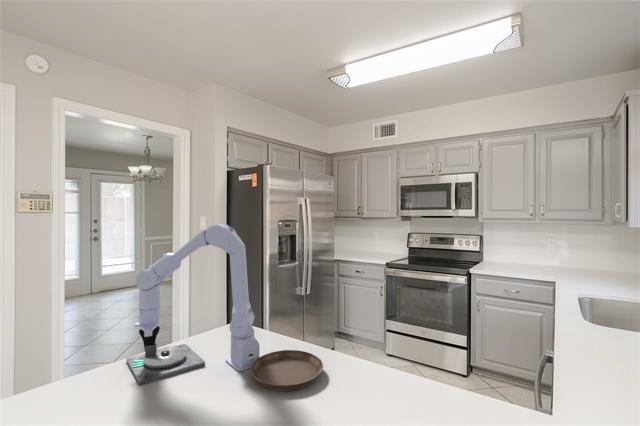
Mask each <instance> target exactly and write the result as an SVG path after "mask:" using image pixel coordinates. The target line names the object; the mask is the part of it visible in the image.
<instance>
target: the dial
mask: <svg viewBox="0 0 640 426" xmlns="http://www.w3.org/2000/svg"><path fill="white" fill-rule="evenodd" d="M144 354H145V356H144V358H143V364H144V366H146V367H148V368H166V367H170V366H174V365H176V364H179V363H181V362H182V361H184V360H185V358H186V350H185V349H184V348H181V347H174V346H165V347H160V348H158V343H157V342H155V344H146V345H145V349H144Z"/></svg>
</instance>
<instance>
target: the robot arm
mask: <svg viewBox="0 0 640 426" xmlns="http://www.w3.org/2000/svg"><path fill="white" fill-rule="evenodd" d="M209 245H210V246H213V247H216V248H220V249H221V250H223V251H224V252H226V253H227V254H229V264H230V279H231V294H232V311H231V321H230V323H229V331H230V357H229V358H226V359H225V362H226V363H227V364H229V365H230V366H231V367H232V368H234V370H235V371H237V372H242V371H246V370H248V369H251V366H252V364H253V363H254V361H255V360H257V359H258V358H259V357H260V342H259V341H258V340H257V338H256V336H255V329H254V327H253V326H252V325H253V324H254V322H255V314H254V312H253V310H252V307H251V306H252V305H251V303H250V298H249V297H250V294H249V282H248V281H249V280H248V267H247V254H246V253H247V251H246V244H245V243H244V242H243V241H242V238H241V237H240V236H239V235H238V234H237V231H236V230H235V229H234V228H233V227H231V226H229V225H228V224H227V223H219V224H213V225H210V226H209V227H208V228H207V229H204V230H202V231H200V232H199V233H197V234H196V235H194V236H193V237H192V238H191V239H190V240H189V241H187V242H186V243H185V244H184V245H182V246H181V247H180V248H179V249H178V250H176V252H167V253H163V254H161V255H160V256H159V257H160V258H159V259H158V260H157V261H156V262H154V263H151V264H149V265H147V267H148V268H147V269H143V270H141V271H139V273H138V274H137V275H136V277H135V285H136V286H137V288H138V289H139V290H138V293H139V294H138V322H135V323H134V327H135V328H139V329H138V333H139V336H140V337H141V338H142V341H143V349H144V350H145V345H146V344H155V343H156V339H157V336H158V334H159V333H160V328H161V327H160V325H161V322H162V321H161V306H160V305H161V292H160V291H161V287H160V285H161V283H162V282H163V281H164V280H165V279H166V278H167V277H169V276H170V275H171V274H173V273H174V272H176V271H177V270H178V269H179V268H181V265H182V261H183V260H185V259H186V258H187V257H189V256H190V255H191V254H193V253H195V252H196V251H197V250H198V249H200V248H201V247H205V246H206V247H207V246H209Z"/></svg>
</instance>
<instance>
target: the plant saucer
mask: <svg viewBox="0 0 640 426" xmlns="http://www.w3.org/2000/svg"><path fill="white" fill-rule="evenodd" d="M323 368H324V364H323V362H322V360H321V358H319V357H318V356H316V355H315V354H313V353H310V352H307V351H304V350H297V349H296V350H295V349H290V350H289V349H283V350H278V351H277V350H276V351H271V352H269V353H265V354H263V355H261V356H259V358H258V359H257V360H255V361H254V363H253V364H252V366H251V368H250V373H251V375H252V377H253V378H254V379H255V380H256V382H258V384H259V385H260V386H261V385H262V386H263V387H265V388H267V389H269V390H272V391H278V392H289V391H297V390H300V389H304V388H306V387H308V386H310V385H311V384H312V383H314V382H315V380H317V379H318V378H319V376H320V375H321V373H322V372H323Z"/></svg>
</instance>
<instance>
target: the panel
mask: <svg viewBox="0 0 640 426" xmlns="http://www.w3.org/2000/svg"><path fill="white" fill-rule="evenodd" d="M173 347H181V348H184V349H185V350H186V358H185V360H184V361H182V362H181V363H179V364H176V365H174V366H170V367H166V368H148V367H146V366H144V364H143V358H144V356H145V353H142V354H138V355H134V356H131V357H126V359H125V360H126V364H127V366H128V367H129V369H130V371H131V373H132V374H133V376H134V379H135V380H136V382H137V383H138V385H139V386H141V385H145V384H147V383H148V384H149V383H152V382H156V381H159V380H161V379H165V378H168V377H172V376H176V375H179V374H181V373H182V374H183V373H185V372H187V371H189V372H190V371H191V370H197V369H199V368H202V367H205V366H206V361H205V360H204V359H203V358H202V357H200V355H198V353H196V352H195V351H194V350H193V349H192V348H191V347H190V346H189V345H188V344H187V343H183V344H179V345H174V346H173Z"/></svg>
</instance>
